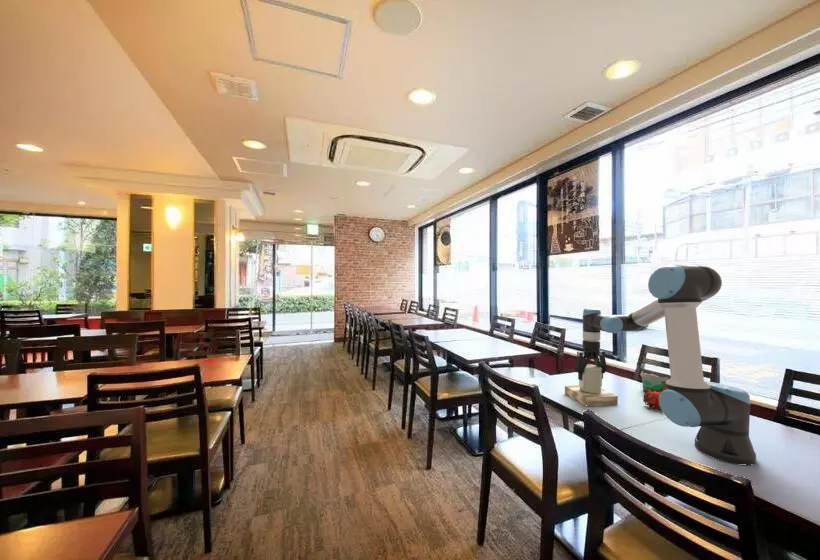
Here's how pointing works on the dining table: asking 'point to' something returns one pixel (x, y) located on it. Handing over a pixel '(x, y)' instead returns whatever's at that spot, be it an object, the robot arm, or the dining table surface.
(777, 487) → the dining table surface
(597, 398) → the riser block
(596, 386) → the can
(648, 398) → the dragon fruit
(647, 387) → the food container
